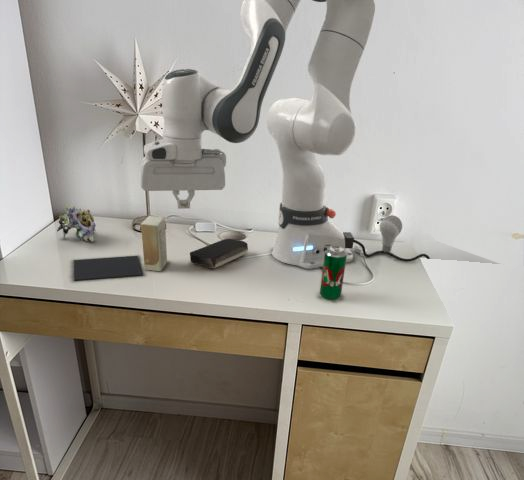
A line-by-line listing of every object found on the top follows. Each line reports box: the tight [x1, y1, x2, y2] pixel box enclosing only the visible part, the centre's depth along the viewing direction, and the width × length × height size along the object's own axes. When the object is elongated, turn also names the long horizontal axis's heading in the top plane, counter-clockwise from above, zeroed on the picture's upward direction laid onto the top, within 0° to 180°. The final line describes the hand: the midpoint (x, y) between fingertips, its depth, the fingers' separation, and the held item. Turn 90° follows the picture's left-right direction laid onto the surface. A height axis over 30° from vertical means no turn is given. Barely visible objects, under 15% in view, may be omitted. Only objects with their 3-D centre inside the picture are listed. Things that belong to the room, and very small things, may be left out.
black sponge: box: [189, 238, 249, 269], centre depth 138 cm, size 16×8×4 cm, turn 143°
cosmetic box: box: [140, 215, 168, 272], centre depth 130 cm, size 6×4×12 cm
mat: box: [73, 255, 143, 282], centre depth 130 cm, size 16×12×1 cm
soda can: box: [319, 246, 347, 301], centre depth 120 cm, size 5×5×12 cm
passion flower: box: [56, 204, 98, 243], centre depth 144 cm, size 11×11×12 cm
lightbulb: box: [379, 214, 403, 253], centre depth 145 cm, size 6×6×11 cm
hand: (183, 207), depth 127 cm, fingers closed
